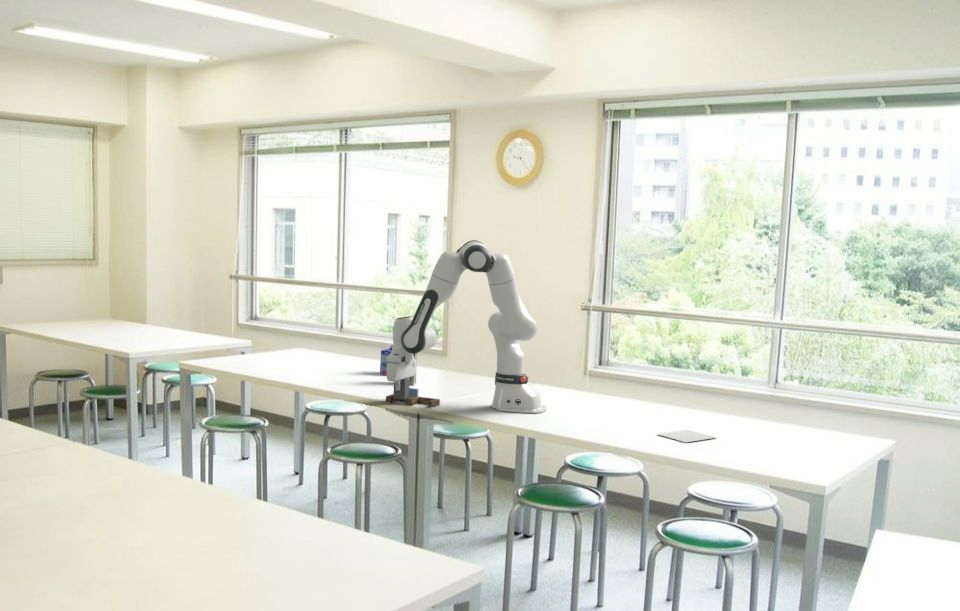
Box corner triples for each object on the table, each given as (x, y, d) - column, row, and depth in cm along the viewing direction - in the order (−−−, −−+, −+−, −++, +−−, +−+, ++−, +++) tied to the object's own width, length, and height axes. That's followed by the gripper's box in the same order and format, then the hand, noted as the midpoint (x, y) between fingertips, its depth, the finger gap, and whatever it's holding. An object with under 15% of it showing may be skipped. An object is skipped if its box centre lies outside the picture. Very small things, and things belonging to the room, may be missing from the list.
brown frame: (443, 403, 355) (443, 391, 354) (432, 408, 345) (432, 395, 345) (397, 398, 362) (398, 386, 362) (385, 402, 353) (386, 390, 352)
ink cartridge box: (388, 376, 418) (389, 346, 417) (379, 374, 421) (380, 345, 420) (399, 373, 427) (400, 344, 426) (390, 372, 430) (391, 343, 429)
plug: (408, 398, 354) (409, 379, 354) (404, 399, 350) (405, 380, 350) (397, 397, 356) (398, 377, 355) (393, 398, 352) (394, 378, 352)
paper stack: (738, 445, 304) (738, 443, 304) (690, 453, 289) (691, 450, 289) (687, 431, 323) (687, 429, 323) (640, 438, 308) (640, 436, 308)
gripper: (407, 352, 363) (406, 385, 364) (384, 357, 344) (382, 392, 345) (420, 353, 360) (419, 386, 361) (398, 359, 341) (397, 393, 342)
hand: (401, 389), depth 353 cm, fingers closed on plug, 4 cm apart
